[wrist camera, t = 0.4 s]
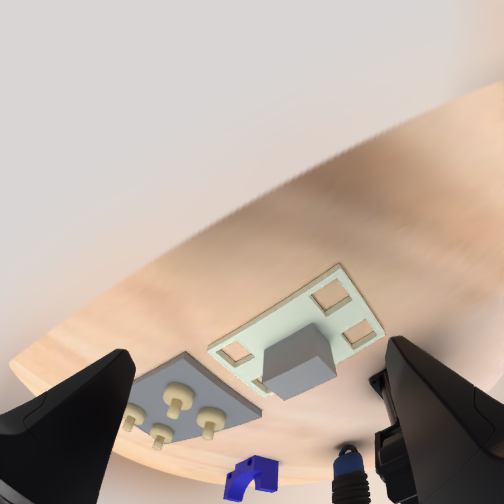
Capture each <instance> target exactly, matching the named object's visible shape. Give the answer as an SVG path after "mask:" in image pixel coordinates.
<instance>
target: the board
mask: <svg viewBox="0 0 504 504" xmlns="http://www.w3.org/2000/svg"><path fill="white" fill-rule="evenodd" d="M336 278H337V279H338V280H339V282H340V283H341V285H342V286H343V287H344V289H345V290H346V291H347V293H348V294H349V296H348V297H347V298H345V299H344V300H342V301H341V302H339V303H338V304H336V305H334V306H333V307H331V308H330V309H328V310H327V311H325V312H324V310H323V309H322V308H321V307H320V306H319V304H318V303H317V302H316V301H315V299H314V298H313V297H312V296H311V294H313V293H315V292H316V291H318V290H319V289H321V288H322V287H324V286H325V285H327V284H328V283H330V282H331V281H333V280H334V279H336ZM364 319H366V320H367V321H368V323H369V324H370V326H371V327H372V329H373V330H374V331H373V332H372V333H370V334H368V335H367V336H365V337H364V338H362V339H360V340H359V341H357V342H355V343H354V344H352V345H351V344H350V342H349V341H348V340H347V339H346V337H345V336H344V335H343V334H342V333H343V332H345V331H346V330H348V329H350V328H351V327H353V326H354V325H356V324H358V323H359V322H361V321H362V320H364ZM385 335H386V334H385V332H384V330H383V328H382V327H381V325H380V323H379V322H378V320H377V319H376V317H375V316H374V314H373V313H372V311H371V310H370V308H369V307H368V305H367V304H366V302H365V301H364V299H363V298H362V296H361V295H360V293H359V292H358V290H357V289H356V287H355V286H354V285H353V283H352V282H351V280H350V279H349V277H348V276H347V274H346V273H345V272H344V270H343V269H342V267H341V266H340V265H339V263H338V264H337V265H336V266H334V267H333V268H331V269H330V270H328V271H327V272H325V273H324V274H322V275H321V276H320V277H318V278H317V279H315V280H314V281H312V282H311V283H309V284H308V285H306V286H305V287H303V288H302V289H300V290H298V291H297V292H295V293H294V294H292V295H291V296H289V297H288V298H286V299H285V300H283V301H282V302H280V303H278V304H277V305H275V306H274V307H272V308H270V309H269V310H267V311H266V312H264V313H263V314H261V315H259V316H258V317H256V318H254V319H253V320H251V321H250V322H248V323H246V324H245V325H243V326H241V327H240V328H238V329H236V330H235V331H233V332H231V333H230V334H228V335H226V336H225V337H223V338H221V339H219V340H218V341H216V342H214V343H213V344H211V345H209V346H208V348H207V351H206V352H207V353H209V354H210V355H211V356H212V357H213V358H214V359H216V360H217V361H218V362H219V363H220V364H221V365H223V366H224V367H225V368H226V369H228V370H229V371H230V372H231V373H232V374H234V375H235V376H236V377H237V378H239V379H240V380H241V381H242V382H244V383H245V384H246V385H248V386H249V387H250V388H251V389H253V390H254V391H255V392H257V393H258V394H259V395H261V396H262V397H263V398H266V397H269V396H271V395H273V394H276V395H277V396H279V397H280V398H281V399H283V400H284V401H285V400H287V399H290V398H292V397H294V396H296V395H299V394H301V393H303V392H305V391H307V390H310V389H312V388H314V387H316V386H318V385H320V384H322V383H324V382H326V381H328V380H330V379H332V378H334V377H336V376H337V373H336V368H335V364H337V363H339V362H341V361H343V360H345V359H346V358H348V357H350V356H352V355H353V354H355V353H357V352H359V351H360V350H362V349H364V348H365V347H367V346H369V345H370V344H372V343H374V342H375V341H377V340H378V339H380V338H382V337H383V336H385ZM236 340H237V341H238V342H239V343H240V344H241V345H243V346H244V347H245V348H246V349H247V350H248V351H249V352H250V353H251V355H249V356H247V357H245V358H243V359H241V360H239V361H237V362H234V361H233V360H232V359H231V358H230V357H229V356H227V355H226V354H225V353H224V352H223V351H222V350H221V349H222V348H224V347H225V346H227V345H229V344H231V343H233V342H234V341H236ZM261 376H262V384H263V385H262V384H261V383H260V382H259V381H257V380H256V379H257V378H259V377H261ZM264 385H265V386H266V387H267V388H266V387H265V386H264Z"/></svg>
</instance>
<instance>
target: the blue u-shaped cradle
mask: <svg viewBox="0 0 504 504" xmlns="http://www.w3.org/2000/svg"><path fill="white" fill-rule="evenodd" d="M253 479H254V480H255V490H259V491H265V492H271V493H272V492H275V491H277V489H278V461H275V460H271V459H267V458H263V457H259V456H256V455H254V456H252V457H250V458H248V459H246V460H244V461H242V462H240V463H238V464H236V467H235V471H233V472H231V473H228V474H227V478H226V485H225V491H224V498H223V499H227V500H230V501H235V502H241V501H242V499H243V495H244V492H245V490H246V488H247V486H248V485H249V483H250V482H251V481H252V480H253Z"/></svg>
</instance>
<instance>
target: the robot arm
mask: <svg viewBox="0 0 504 504" xmlns="http://www.w3.org/2000/svg"><path fill="white" fill-rule="evenodd" d="M385 362H386V367H387V369H386V370H384V371H383V372H381V373H379V374H378V375H376V376H374V377H372V378H371V379H370V380H369V382H370V385H371V386H372V387H373V388H374V390H375V391H376V392H377V393H378V394H379V395H380V396H381V398H382V399H383V400H384V402H385V406H386V409H387V412H388V416H389V419H390V422H391V426H390V427H388V428H386V429H384V430H382V431H379V432H377V433H375V468H376V473H377V474H379V476H380V478H381V479H382V480H383V482H384V483H386V488H387V495H388V498H389V499H390V500H391V501H392V502H393V503H394V504H398V503H401V504H504V404H502V403H500V402H499V401H497V400H495V399H494V398H492V397H491V396H489V395H488V394H486V393H485V392H483V391H482V390H480V389H479V388H477V387H474V385H473V384H472V383H470V382H469V381H467V380H466V379H464V378H463V377H461V376H460V375H459V374H457V373H456V372H454V371H453V370H451V369H450V368H448V367H447V366H446V365H444V364H443V363H441V362H440V361H438V360H437V359H435V358H434V357H432V356H431V355H430V354H428V353H427V352H425V351H424V350H422V349H421V348H419V347H418V346H416V345H415V344H413V343H412V342H410V341H409V340H407V339H406V338H404V337H403V336H394V337H391V338H389V341H388V345H387V351H386V356H385ZM135 372H136V367H135V364H134V362H133V360H132V358H131V356H130V354H129V352H128V351H127V350H126V349H116V350H114V351H112V352H111V353H109V354H107V355H106V356H104V357H102V358H101V359H99V360H97V361H96V362H94V363H93V364H91V365H89V366H88V367H86V368H84V369H83V370H81V371H79V372H78V373H76V374H74V375H73V376H71V377H69V378H68V379H66V380H64V381H63V382H61V383H59V384H58V385H56V386H54V387H53V388H51V389H49V390H48V391H46V392H44V393H43V394H41V395H39V396H37V397H36V398H34V399H33V400H31V401H28V402H26V403H24V404H23V405H21V406H18V407H16V408H14V409H12V410H10V411H8V412H6V413H4V414H1V415H0V504H96V503H97V499H98V496H99V491H100V488H101V484H102V480H103V477H104V474H105V471H106V467H107V464H108V461H109V458H110V454H111V451H112V448H113V445H114V442H115V439H116V436H117V433H118V430H119V427H120V424H121V421H122V418H123V415H124V413H125V410H126V407H127V404H128V400H129V396H130V392H131V388H132V384H133V380H134V376H135Z"/></svg>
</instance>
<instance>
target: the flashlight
mask: <svg viewBox="0 0 504 504" xmlns="http://www.w3.org/2000/svg"><path fill="white" fill-rule="evenodd" d="M347 450H351V452H349V453H346V454H345V452H346V451H347ZM333 468H334V480H333V481H332V492H334V493H332V503H334V504H369V503H370V502H371V499H370V498H369V496H370V492H368V491H369V486H368V484H369V483H368V481H367V480H366V479H367V477H368V476H367V474H366V473H365V471H364V465H363V459H362V456H361V454H360V453H358V451H357V449H356V447H355V446H353V445H347V446H345V447H344V448H343V449H342V450H341V451H340V453H339V457H338V458H337V459H336V460H335V462H334V464H333Z"/></svg>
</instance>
